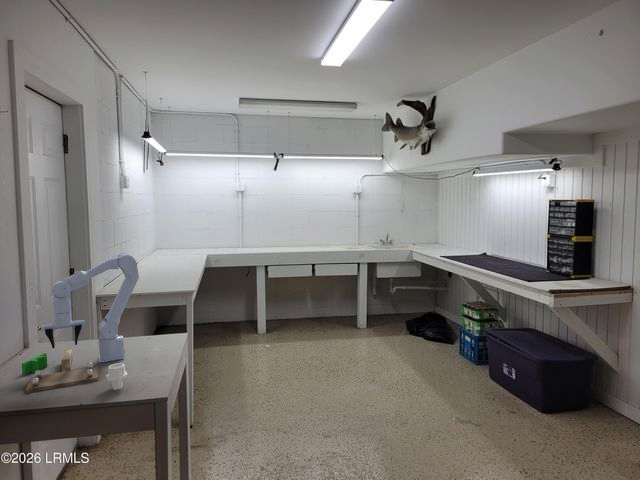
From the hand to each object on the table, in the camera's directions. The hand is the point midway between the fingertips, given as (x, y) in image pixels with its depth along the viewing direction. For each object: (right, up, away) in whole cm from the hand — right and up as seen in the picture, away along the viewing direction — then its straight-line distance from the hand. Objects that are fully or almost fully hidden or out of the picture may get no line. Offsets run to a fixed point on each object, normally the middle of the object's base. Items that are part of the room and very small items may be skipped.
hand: (64, 345), depth 171 cm
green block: (-10, -9, -2) cm, 13 cm away
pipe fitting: (+30, -10, -19) cm, 37 cm away
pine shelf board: (0, -9, +1) cm, 9 cm away
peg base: (+7, -10, -12) cm, 17 cm away
